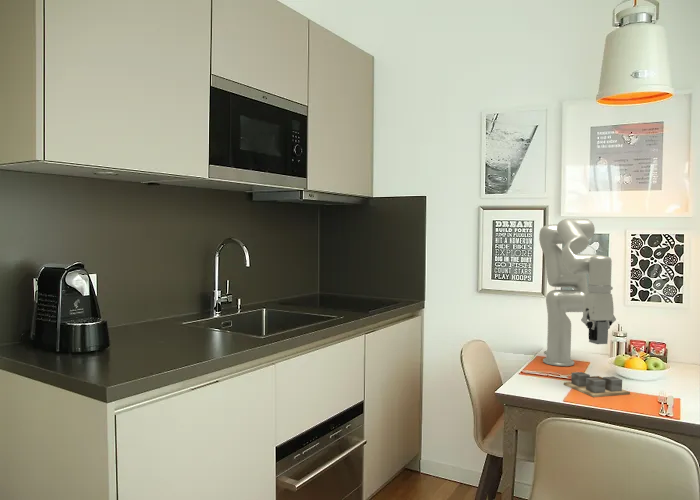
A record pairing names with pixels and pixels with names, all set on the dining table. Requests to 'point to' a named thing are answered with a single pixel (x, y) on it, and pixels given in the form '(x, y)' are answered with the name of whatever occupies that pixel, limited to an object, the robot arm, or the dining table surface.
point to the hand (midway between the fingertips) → (598, 339)
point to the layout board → (596, 385)
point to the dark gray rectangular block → (601, 333)
